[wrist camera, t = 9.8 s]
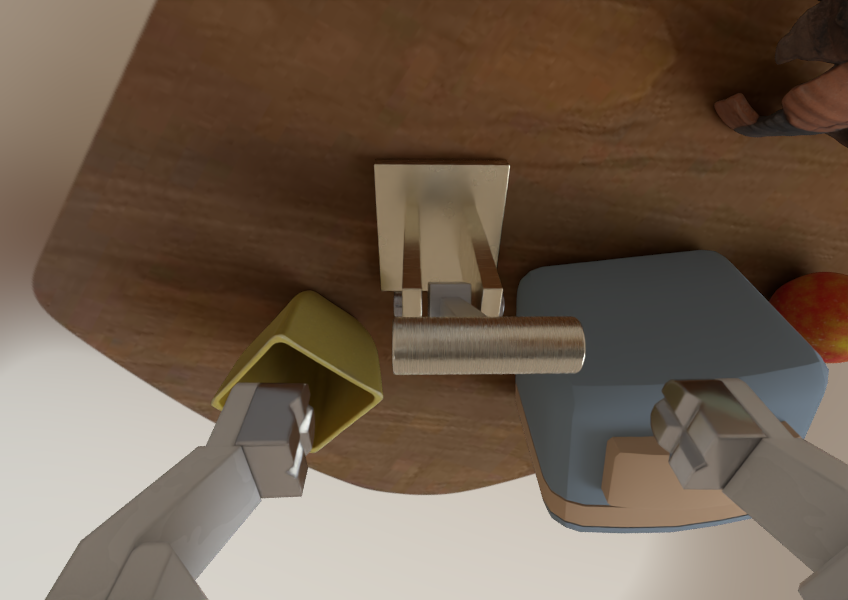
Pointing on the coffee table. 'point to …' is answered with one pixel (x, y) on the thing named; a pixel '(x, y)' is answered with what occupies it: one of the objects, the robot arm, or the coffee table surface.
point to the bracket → (440, 228)
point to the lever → (483, 339)
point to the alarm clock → (650, 383)
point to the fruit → (817, 312)
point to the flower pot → (314, 363)
